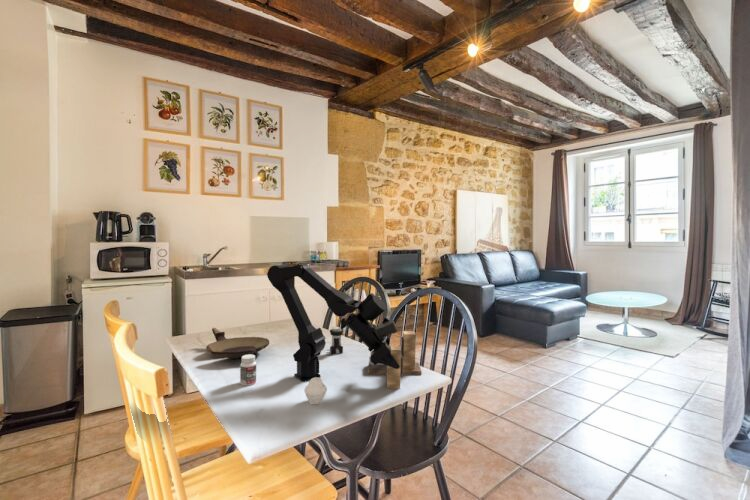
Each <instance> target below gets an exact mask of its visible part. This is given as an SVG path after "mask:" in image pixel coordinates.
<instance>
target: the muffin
mask: <svg viewBox="0 0 750 500" xmlns="http://www.w3.org/2000/svg"><path fill="white" fill-rule="evenodd" d="M308 381H309V382H308V384H307V385H306V386H305V387H304V393H305V396H306V399H307V400H308V402H309V404H311V405H313V406H315V405H320V404H321V403H322V401H323V400H324V398H325V395H326V393H327V391H328V388H327V386H326V384H324V382H323V379H322V378H320V377H318V378H317V377H315V378H312V379H311V380H308Z"/></svg>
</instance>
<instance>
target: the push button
mask: <svg viewBox="0 0 750 500" xmlns="http://www.w3.org/2000/svg"><path fill="white" fill-rule="evenodd" d="M343 332H344V329H342V330H341V326H334V327H332V328H331V329H329V333H330V335H331V345H330V347H329V349H326V351H327V352H325V353H326V354H331V355H337V354H343V353H344V352H343V351H344V346H342V335H343Z"/></svg>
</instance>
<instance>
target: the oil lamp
mask: <svg viewBox="0 0 750 500" xmlns="http://www.w3.org/2000/svg"><path fill="white" fill-rule="evenodd" d="M211 328H212V329H211V330H212V333H213V335H214V339H215V340H216V341H214V342H212V343H209V344H208V345H206V351H207V352H210V355H214V356H217V357H220V358H227V359H239V358H242V356H244V355H249V354H251V355H254V354H257V353H258V352H260V351H262V350H263V349H265V348H266V347H268V346H269V345H270V340H269V339H268V337H267V338H265V337H263V336H262V337H261V336H246V337H244V336H243V337H242V336H241V337H240V336H239V337H233V338H231V337H230V338H226V336H225V335H226V332H225V331H220V330H218V329H217V328H216V327H211Z"/></svg>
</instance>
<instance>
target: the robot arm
mask: <svg viewBox="0 0 750 500" xmlns="http://www.w3.org/2000/svg"><path fill="white" fill-rule="evenodd" d="M266 277H267V278H268V281H269V282H270V284H271V285H272V286H273V288H275V290H276V291H278V292H279V293H280V295H281V297H282V298H283V301H284V304H285V306H286V308H287V309H288V312H289V315H290V316H291V319H292V321H293V323H294V325H295V327H296V330H297V332H298V336H297V337H298V338H297V339H298V340H297V342H298V346H299V349H297V351H296V352H295V353H293V359H294V362H296V373H294V377H295V378H297V379H298V380H300V381H302V382H308V381H310V380H311V379H312V378H315V377H317V378H320V377H322V375H321V374H320V361H319V356H320V355H321V353H322V351H323V350H324V348H326V347H325V346H326V339H327V338H326V336H325V335H324V333H323V330H322V328H321V327H317V328H316V327H315V326H314V325H313V324H312V322H311V320H310V317H309V315H308V313H307V311H306V308H305V307H304V304H303V302H302V300H301V298H300V296H299V293H298V291H297V289H296V286H295V285H296V284H295V281H296V280H295V278H296V277H298V278H299V279H300V280H302V281H303V282H304V283H306V285H307V286H309V287H310V288H311V289H312V290H313V291H314V292H316V294H318V295H319V296H320V297H321V298H323V300H324V301H325V302H326V304H327V307H328V308H329V310H330V311H331V312H332V313H333V314H334V315H335V316H336V317H342V318H341V320H340V327H341V330H344V329H345V328H346V327H347V328H349V329H350V331H352V332H353V334H354V335H355V336H356V337H358V341H359V342H360V343H363V344H364V345H365V346H366V347H367V349H368V351H369V352H370V357H371V362H372V363H373V364H374V365H377V364H378V363H381V364H384V365H387V366H390V367H393V368H395V369H398V368H400V366H399V364H398V363H397V361H396V360H395V359H394V357H393V356H392V354H391V346H392V345H391V344H390V337H388V336H390V335H392V334H395V333H397V332H398V329H397V326H396V324H395V321H394V319H393V318H391V319H389V318H388V317H387V316H385V317H384V318H382V320H381V321H382V322H381V323H380V324H378V325H376V324H375V323H371V322H374V321H376V319H377V318H378V317H380V316H381V315H382V314H383V313H384V312H385V311H386V310H387V305H386V303H385V302H384V300H383V299H381V298H380V297H379V296H377V295H375V294H374V293H373V292H371V293H369V295H367V296H366V297H365V299H363V301H360V300H357V299H354V298H353V297H352V296H351V295H350V294H348V293H345V292H344V291H341V290H339V289H337V288H335V287H334V286H332V285H331V284H330V283H329V282H328V281H326V280H325V279H324V278H323V277H322V276H321V275H319V274H318V273H317V272H316V271H315V270H313V269H312V268H311V267H310V266H309V265H308V264H307V263H299V264H298V263H297V264H296V265H289V264H285V263H283V264H277V265H276V264H275V265H272V266H270V267H269V268H268V271H267V272H266ZM357 310H358V311H357ZM356 311H357V312H356ZM354 312H355V313H354ZM347 315H348V316H347ZM344 316H347V317H345V318H343V317H344ZM385 337H387V338H386V339H385Z"/></svg>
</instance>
